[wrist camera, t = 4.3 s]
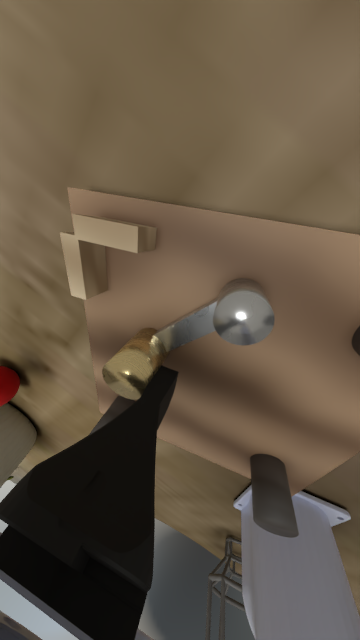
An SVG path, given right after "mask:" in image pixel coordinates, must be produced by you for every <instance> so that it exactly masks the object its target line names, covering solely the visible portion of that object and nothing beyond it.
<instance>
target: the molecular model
mask: <svg viewBox="0 0 360 640" xmlns="http://www.w3.org/2000/svg"><path fill="white" fill-rule="evenodd" d="M19 386H20V379H19V376H18V374H17V373H16V372H15V371H14V370H12V369H10V368H8V367H4V366H0V406H2V405H4V404H6V403H7V402H8V401H10V400H11V399H12V398H13V397H14V396H15V394H16V393H17V391H18V389H19Z"/></svg>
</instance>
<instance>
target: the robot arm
mask: <svg viewBox="0 0 360 640" xmlns="http://www.w3.org/2000/svg"><path fill="white" fill-rule="evenodd" d="M178 373H179V372H178V371H175V370H172V369H169V368H167V367H164V366H162V365H161V367H160V368H159V370H158V371H157V372H156V374H155V375H154V376H153V378H152V379H151V381H150V382H149V383H148V385H147V386H146V388H145V390H144V392H143V394H142V395H141V397H140V398H139V399H138V400H137V401H136V402H135V403H133V404H132V405H131V406H130V407H128V408H127V409H126V410H125V411H123V412H122V413H121V414H119V415H118V416H117V417H115V418H114V419H113V420H111V421H110V422H108V423H107V424H105V425H104V426H103V427H101V428H100V429H98V430H96V431H95V432H93V433H92V434H90V435H88V436H87V437H85V438H84V439H82V440H80V441H79V442H77V443H75V444H74V445H72V446H70V447H69V448H67V449H65V450H63V451H61V452H60V453H58V454H56V455H54V456H52V457H50V458H48V459H47V460H45V461H43V462H41V463H39V464H38V465H36V466H35V467H34V468H33V469H32V470H31V471H30V472H29V473H27V474H26V475H25V477H23V478H22V479H21V480H20V481H19V482H18V483H17V485H16V486H15V487H14V488H13V489H12V490H11V491H10V493H9V494H8V495H7V496H6V497H5V498H4V499H3V500H2V502H1V503H0V519H1V520H3V521H4V522H5V523H7V524H8V527H7V528H6V529H5V530H4V532H3V533H0V579H1V580H2V581H3V582H5V583H6V584H7V585H9V586H10V587H12V588H13V589H14V590H15V591H16V592H18V593H19V594H21V595H22V596H23V597H24V598H26V599H27V600H28V601H30V602H31V603H32V604H34V605H35V606H36V607H38V608H39V609H40V610H41V611H43V612H44V613H45V614H47V615H48V616H49V617H50V618H52V619H53V620H54V621H56V622H57V623H58V624H60V625H61V626H62V627H64V628H65V629H66V630H67V631H69V632H70V633H71V634H73V635H74V636H75V637H77V638H78V639H79V640H154V639H152V638H151V637H149V636H148V635H146V634H145V633H144V632H142V631H141V630H139V629H138V625H139V621H140V617H141V614H142V611H143V607H144V603H145V599H146V595H147V592H148V591H149V590H150V588H151V584H152V576H153V558H154V489H155V455H156V438H157V430H158V428H159V426H160V424H161V422H162V420H163V418H164V416H165V414H166V412H167V409H168V407H169V404H170V402H171V399H172V397H173V394H174V390H175V386H176V382H177V377H178ZM292 502H293V507H294V512H295V517H296V522H297V527H298V532H299V535H298V536H297V537H294V538H289V537H283V536H279V535H275V534H273V533H270V532H268V531H266V530H264V529H262V528H261V527H259V526H258V525H257V524H256V523H255V522H254V520H253V505H252V487H251V485H250V486H249V487H248V488H247V489H246V490H245V491H244V492H243V493H242V494H241V495H240V496H239V497H238V498H237V499H236V500H235V501H234V507H235V508H236V509H238V510H241V538H242V592H243V600H244V606H245V610H246V614H247V618H248V621H249V624H250V627H251V630H252V632H253V634H254V637H255V639H256V640H360V617H359V614H358V611H357V607H356V604H355V601H354V598H353V595H352V592H351V589H350V585H349V582H348V579H347V576H346V573H345V570H344V566H343V563H342V560H341V557H340V554H339V551H338V548H337V544H336V541H335V538H334V535H333V532H332V529H331V527H332V526H335V525H337V524H340V523H342V522H345V521H348V520H350V519H351V517H350V514H349V512H348V511H346V510H344V509H342V508H340V507H337V506H335V505H333V504H330V503H328V502H326V501H323V500H321V499H319V498H316V497H314V496H312V495H310V494H307V493H305V492H303V491H300V492H298V493H297V494H295V495H294V496H292ZM0 640H42V639H41V638H39V637H38V636H37V635H35V634H34V633H32V632H31V631H29V630H28V629H27V628H25V627H24V626H22V625H21V624H19V623H18V622H16V621H15V620H13V619H12V618H10V617H9V616H7V615H6V614H4V613H2V612H1V611H0Z"/></svg>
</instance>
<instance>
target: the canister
mask: <svg viewBox="0 0 360 640" xmlns="http://www.w3.org/2000/svg"><path fill="white" fill-rule="evenodd" d="M36 437H37V433H36V430H35V428H34V426H33V425H32V423H31V422H30V421H29V420H28V419H27V418H26V416H24V415H23V414H22V413H21V412H20V411H19V410H17V409H16V408H15V407H13V406H12V405H10V404H8V403H6V404H4V405H2V406H0V488H1V486H2V485H3V484H4V483H5V482H6V480H7V479H8V478H9V477H10V475H11V474H12V473H13V472H14V470H15V469H16V468H17V467H18V465H19V464H20V463H21V462H22V460H23V459H24V458H25V457H26V455H27V454H28V453H29V451H30V450H31V448H32V447H33V445H34V443H35V441H36Z"/></svg>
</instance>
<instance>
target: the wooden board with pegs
mask: <svg viewBox="0 0 360 640" xmlns="http://www.w3.org/2000/svg"><path fill="white" fill-rule="evenodd" d="M67 188H68V195H69V202H70V209H71V216H72V222H73V229H74V232H60V236H61V241H62V247H63V252H64V258H65V263H66V269H67V274H68V280H69V285H70V291H71V295H72V296H75V297H78V298H81V299H84V306H85V313H86V319H87V326H88V333H89V340H90V347H91V354H92V361H93V368H94V375H95V382H96V389H97V396H98V403H99V409H100V412H101V413H103V414H104V415H103V417H102V418H101V419H100V421H99V422H98V423H97V425H96V426H95V427H94V429H93V430H92V431H91V433H90V434H92V433H93V432H95V431H96V430H98V429H100V428H101V427H103V426H104V425H105V424H107V423H108V422H110V421H111V420H113V419H114V418H115V417H117V416H118V415H119V414H121V413H122V412H123V411H125V410H126V409H127V408H128V407H130V406H131V405H132V404H133V403H135V402H136V401H137V400H138V399H136V400H133V399H128V398H125V397H122V396H120V395H119V394H117V393H115V392H114V391H113V390H112V389H111V388H110V387H109V386H108V385H107V384H106V382H105V380H104V378H103V375H102V369H103V367H104V365H105V364H106V363H107V362H108V361H109V360H110V359H111V358H112V357H113V356H114V355H115V354H116V353H117V352H118V351H119V350H120V349H121V348H122V347H123V346H124V345H125V344H126V343H127V342H128V341H129V340H130V339H131V338H132V337H133V336H134V335H135V334H136V333H137V332H139V331H140V330H141V329H144V328H151V329H155V330H159V329H161V328H163V327H165V326H167V325H168V324H170V323H172V322H174V321H176V320H178V319H179V318H181V317H183V316H185V315H187V314H188V313H190V312H192V311H194V310H196V309H198V308H199V307H201V306H203V305H205V304H207V303H209V302H210V301H212V300H214V299H216V298H218V297H219V294H220V292H221V290H222V288H223V287H224V286H225V285H226V284H227V283H229V282H230V281H232V280H235V279H239V278H247V279H251V280H254V281H256V282H257V283H258V284H260V286H261V287H262V288H263V290H264V292H265V295H266V297H267V299H268V301H269V303H270V306H271V308H272V310H273V312H274V317H275V321H274V326H273V329H272V331H271V332H270V334H269V335H268V336H267V337H266V338H265V339H263V340H262V341H260V342H258V343H255V344H252V345H245V346H243V345H235V344H232V343H229V342H227V341H225V340H224V339H222V338H221V337H220V336H219V335H218V333H217V332H216V331H214V332H211V333H209V334H207V335H205V336H202V337H200V338H198V339H196V340H193V341H191V342H189V343H187V344H184V345H182V346H180V347H177V348H175V349H173V350H171V351H169V354H168V356H167V357H166V359H165V361H164V362H163V364H162V366H164V367H167V368H169V369H172V370H175V371H178V372H179V373H178V377H177V382H176V386H175V390H174V394H173V397H172V399H171V402H170V404H169V407H168V409H167V412H166V414H165V416H164V418H163V420H162V422H161V424H160V426H159V428H158V430H157V438H159V439H162V440H164V441H166V442H168V443H171V444H173V445H175V446H178V447H180V448H182V449H184V450H187V451H189V452H191V453H193V454H196V455H198V456H200V457H202V458H205V459H207V460H209V461H211V462H214V463H216V464H218V465H220V466H223V467H225V468H227V469H229V470H232V471H234V472H236V473H238V474H241V475H243V476H245V477H247V478H250V479H251V487H252V505H253V520H254V522H255V523H256V524H257V525H258V526H259V527H261V528H262V529H264V530H266V531H268V532H270V533H273V534H275V535H279V536H283V537H289V538H294V537H297V536H298V535H299V532H298V527H297V522H296V517H295V512H294V507H293V502H292V496H294V495H295V494H297V493H298V492H300V491H301V490H303V489H304V488H306V487H307V486H309V485H310V484H312V483H313V482H315V481H316V480H318V479H319V478H321V477H322V476H324V475H325V474H327V473H329V472H330V471H332V470H333V469H335V468H336V467H338V466H339V465H341V464H342V463H344V462H345V461H347V460H348V459H350V458H351V457H353V456H354V455H356V454H357V453H359V452H360V235H357V234H351V233H345V232H339V231H333V230H327V229H320V228H314V227H308V226H302V225H296V224H290V223H284V222H278V221H271V220H265V219H259V218H253V217H247V216H241V215H235V214H229V213H223V212H216V211H210V210H204V209H198V208H192V207H186V206H180V205H174V204H167V203H161V202H155V201H149V200H143V199H137V198H131V197H125V196H119V195H112V194H106V193H100V192H94V191H88V190H82V189H76V188H70V187H67ZM90 434H89V435H90Z"/></svg>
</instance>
